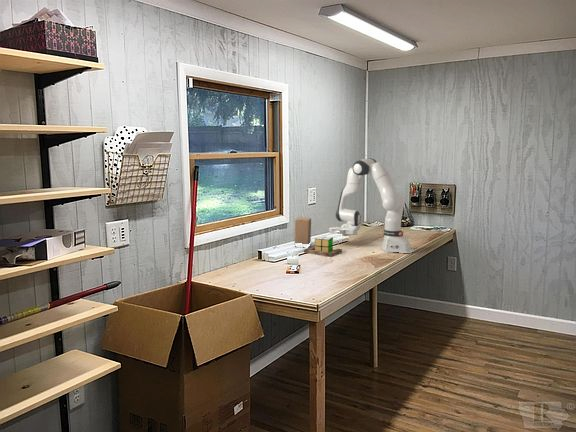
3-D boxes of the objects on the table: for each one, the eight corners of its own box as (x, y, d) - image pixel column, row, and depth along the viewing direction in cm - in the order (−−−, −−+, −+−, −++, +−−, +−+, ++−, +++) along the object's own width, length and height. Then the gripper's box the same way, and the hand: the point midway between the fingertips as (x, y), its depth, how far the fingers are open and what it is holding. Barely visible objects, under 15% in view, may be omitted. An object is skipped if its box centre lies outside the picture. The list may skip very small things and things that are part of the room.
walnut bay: (341, 252, 342) (341, 249, 342) (330, 256, 328) (330, 253, 328) (316, 248, 353) (316, 245, 353) (303, 252, 339) (303, 249, 338)
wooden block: (308, 248, 353) (309, 220, 350) (294, 247, 355) (294, 219, 352) (310, 245, 363) (311, 217, 359) (296, 244, 364) (297, 217, 361)
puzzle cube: (318, 250, 348) (319, 235, 346) (332, 251, 345) (333, 237, 343) (314, 253, 339) (314, 238, 337) (328, 254, 335) (329, 239, 334)
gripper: (333, 224, 373) (324, 226, 361) (359, 226, 362) (350, 229, 350) (333, 232, 373) (324, 235, 362) (359, 234, 363) (350, 237, 351)
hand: (337, 232), depth 356 cm, fingers closed
